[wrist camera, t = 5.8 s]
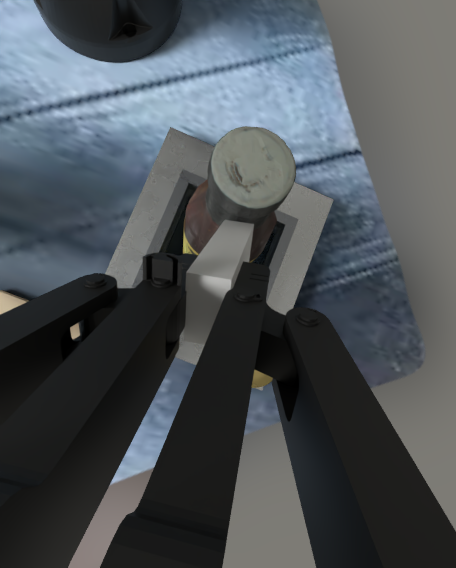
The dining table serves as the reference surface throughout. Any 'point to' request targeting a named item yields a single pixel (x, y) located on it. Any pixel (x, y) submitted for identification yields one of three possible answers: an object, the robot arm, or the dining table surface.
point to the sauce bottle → (241, 188)
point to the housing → (168, 209)
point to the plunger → (260, 379)
